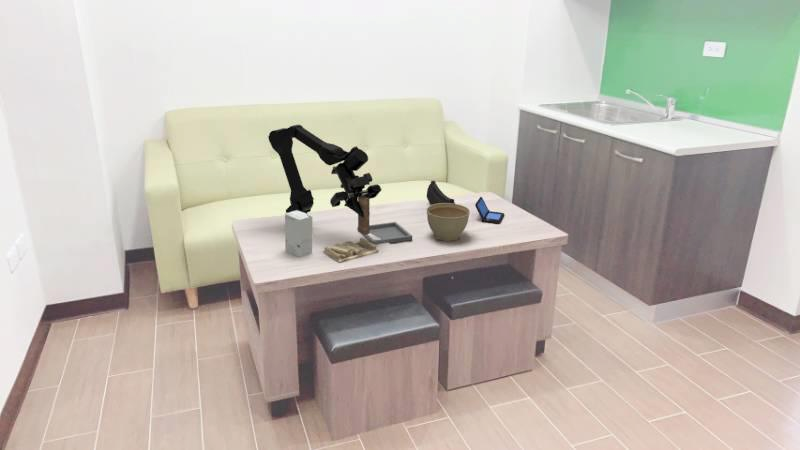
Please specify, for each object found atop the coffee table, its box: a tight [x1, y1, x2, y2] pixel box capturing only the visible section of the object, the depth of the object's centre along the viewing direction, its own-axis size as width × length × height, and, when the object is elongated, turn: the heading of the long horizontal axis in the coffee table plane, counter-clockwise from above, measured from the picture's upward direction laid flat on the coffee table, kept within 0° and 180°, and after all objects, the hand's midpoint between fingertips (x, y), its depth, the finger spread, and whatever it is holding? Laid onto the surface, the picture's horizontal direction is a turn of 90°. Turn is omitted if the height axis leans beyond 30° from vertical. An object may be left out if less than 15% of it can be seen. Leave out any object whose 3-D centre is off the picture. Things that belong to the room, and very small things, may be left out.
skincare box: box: [284, 210, 313, 258], centre depth 202 cm, size 8×6×15 cm
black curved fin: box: [426, 180, 456, 206], centre depth 244 cm, size 17×3×30 cm
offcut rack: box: [322, 237, 379, 264], centre depth 204 cm, size 16×11×3 cm
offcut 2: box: [338, 253, 354, 259], centre depth 202 cm, size 4×7×2 cm, turn 47°
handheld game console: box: [474, 196, 505, 225], centre depth 241 cm, size 12×11×7 cm
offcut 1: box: [329, 243, 354, 255], centre depth 202 cm, size 4×7×2 cm, turn 59°
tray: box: [356, 221, 413, 245], centre depth 221 cm, size 16×16×2 cm
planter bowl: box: [426, 203, 471, 242], centre depth 220 cm, size 16×16×11 cm
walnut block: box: [357, 196, 370, 235], centre depth 203 cm, size 2×4×13 cm, turn 39°
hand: (366, 216), depth 202 cm, fingers closed on walnut block, 2 cm apart
